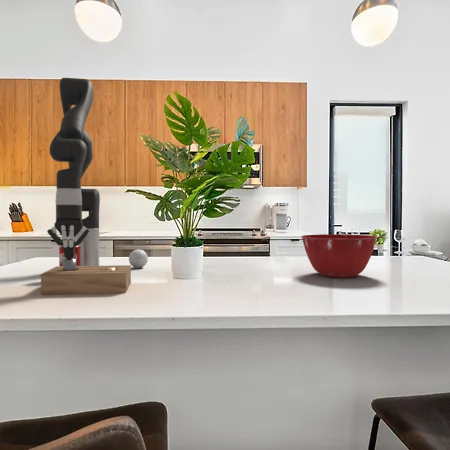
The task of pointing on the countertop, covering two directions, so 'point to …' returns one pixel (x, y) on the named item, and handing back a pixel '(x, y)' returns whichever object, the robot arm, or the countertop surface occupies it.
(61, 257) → the soda can
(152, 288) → the countertop surface
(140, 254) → the bath bomb
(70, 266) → the graphite peg
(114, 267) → the brass peg
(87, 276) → the socket block
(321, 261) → the mixing bowl
